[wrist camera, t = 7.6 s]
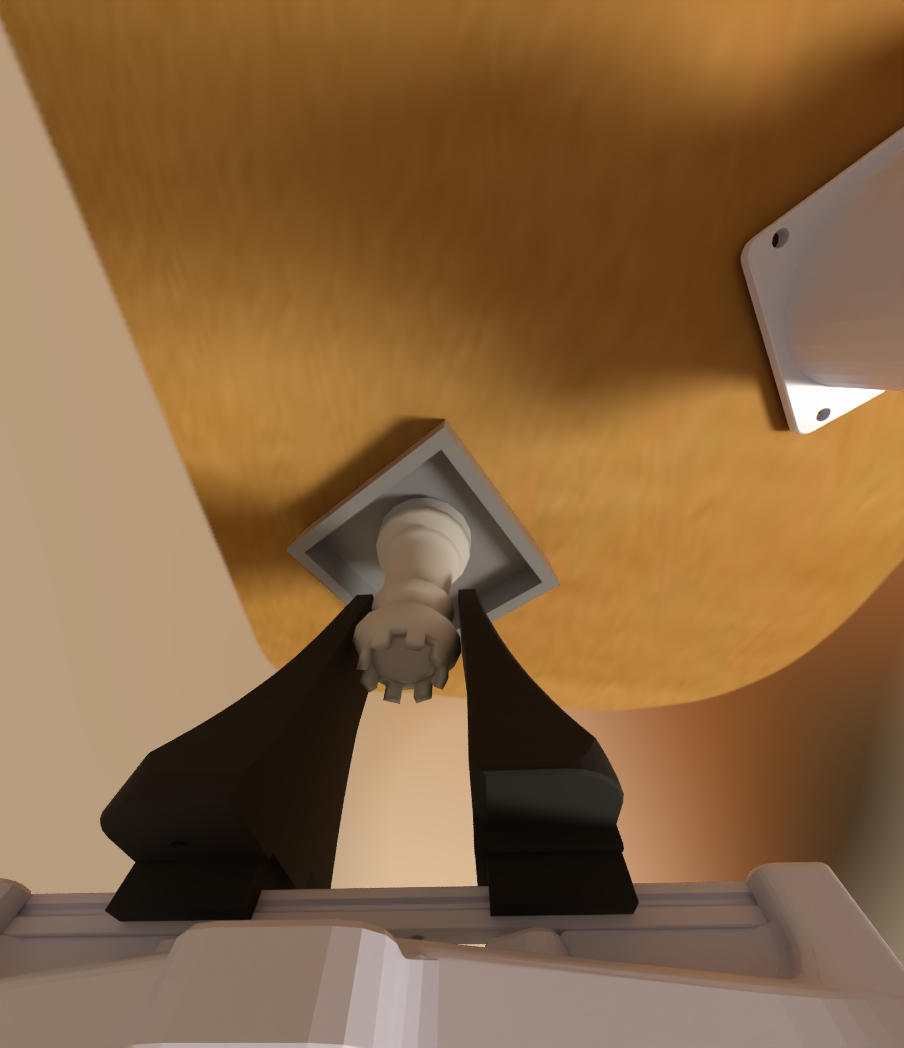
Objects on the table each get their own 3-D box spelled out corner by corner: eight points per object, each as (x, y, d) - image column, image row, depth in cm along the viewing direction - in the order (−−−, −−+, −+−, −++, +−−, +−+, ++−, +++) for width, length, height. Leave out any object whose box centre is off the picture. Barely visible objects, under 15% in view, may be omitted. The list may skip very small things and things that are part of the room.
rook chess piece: (366, 549, 17) (297, 692, 9) (405, 476, 15) (359, 582, 8) (443, 586, 17) (435, 741, 10) (488, 521, 16) (516, 652, 9)
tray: (445, 419, 14) (444, 427, 12) (549, 561, 17) (560, 584, 15) (303, 529, 17) (285, 550, 15) (417, 637, 20) (413, 664, 18)
